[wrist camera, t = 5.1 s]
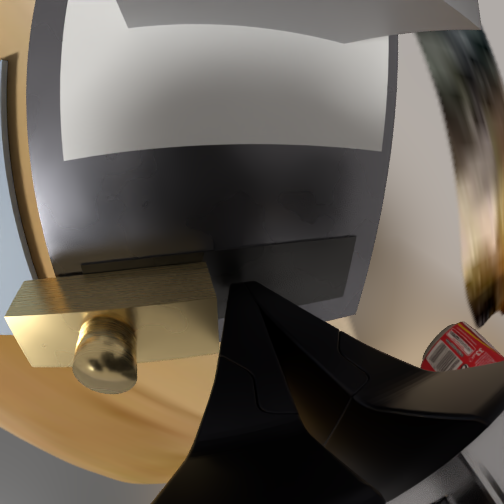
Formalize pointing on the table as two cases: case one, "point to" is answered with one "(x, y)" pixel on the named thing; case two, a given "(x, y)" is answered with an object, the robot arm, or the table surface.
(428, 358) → the soda can
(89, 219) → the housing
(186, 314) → the pegged block
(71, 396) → the table surface
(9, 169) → the pad
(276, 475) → the robot arm
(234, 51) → the lid
